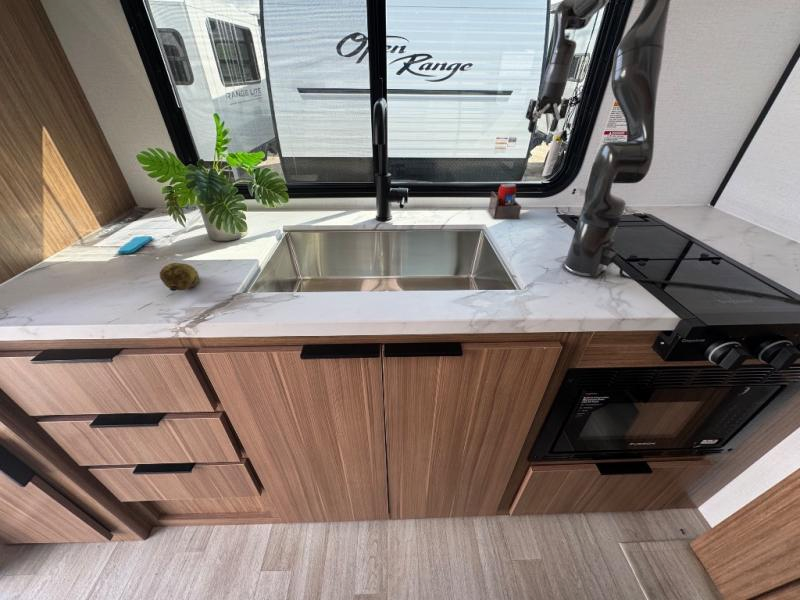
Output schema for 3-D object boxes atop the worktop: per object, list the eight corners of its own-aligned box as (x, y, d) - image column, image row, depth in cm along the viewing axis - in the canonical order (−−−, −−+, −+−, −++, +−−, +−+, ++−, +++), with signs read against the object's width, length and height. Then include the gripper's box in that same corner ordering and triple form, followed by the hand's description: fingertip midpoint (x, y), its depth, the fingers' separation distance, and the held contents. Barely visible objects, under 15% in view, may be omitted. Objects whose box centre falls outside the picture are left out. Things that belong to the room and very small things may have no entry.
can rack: (511, 210, 136) (515, 191, 131) (518, 218, 128) (522, 198, 123) (488, 210, 136) (491, 191, 131) (494, 218, 128) (497, 198, 123)
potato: (212, 274, 90) (203, 248, 85) (192, 300, 79) (180, 271, 75) (181, 276, 89) (169, 249, 85) (156, 302, 78) (142, 273, 74)
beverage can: (507, 218, 128) (513, 187, 121) (491, 215, 131) (496, 184, 124) (514, 214, 132) (520, 184, 126) (498, 210, 136) (503, 181, 129)
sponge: (110, 251, 100) (129, 249, 100) (134, 236, 110) (151, 234, 109) (113, 256, 100) (131, 253, 100) (137, 240, 110) (153, 238, 110)
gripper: (541, 82, 105) (528, 135, 116) (581, 80, 107) (564, 133, 118) (530, 78, 111) (518, 129, 122) (568, 77, 113) (553, 128, 123)
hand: (541, 131), depth 120 cm, fingers open, 8 cm apart
